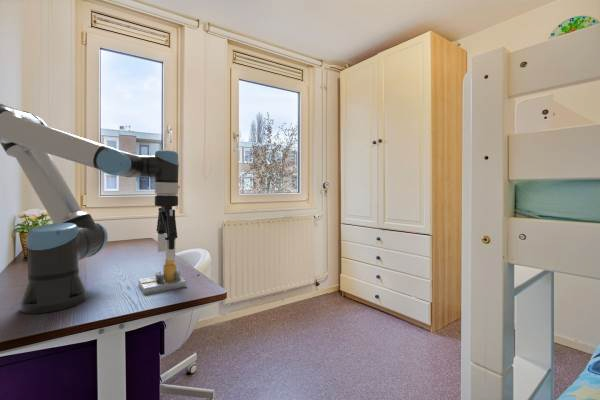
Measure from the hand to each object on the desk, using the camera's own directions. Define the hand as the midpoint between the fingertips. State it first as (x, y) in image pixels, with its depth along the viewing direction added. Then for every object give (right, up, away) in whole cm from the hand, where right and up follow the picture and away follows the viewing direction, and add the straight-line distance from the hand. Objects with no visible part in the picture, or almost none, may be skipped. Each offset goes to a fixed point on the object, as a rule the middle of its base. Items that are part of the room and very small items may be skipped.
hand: (165, 255), depth 104 cm
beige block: (+1, -9, +1) cm, 9 cm away
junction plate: (-1, -11, -1) cm, 11 cm away
